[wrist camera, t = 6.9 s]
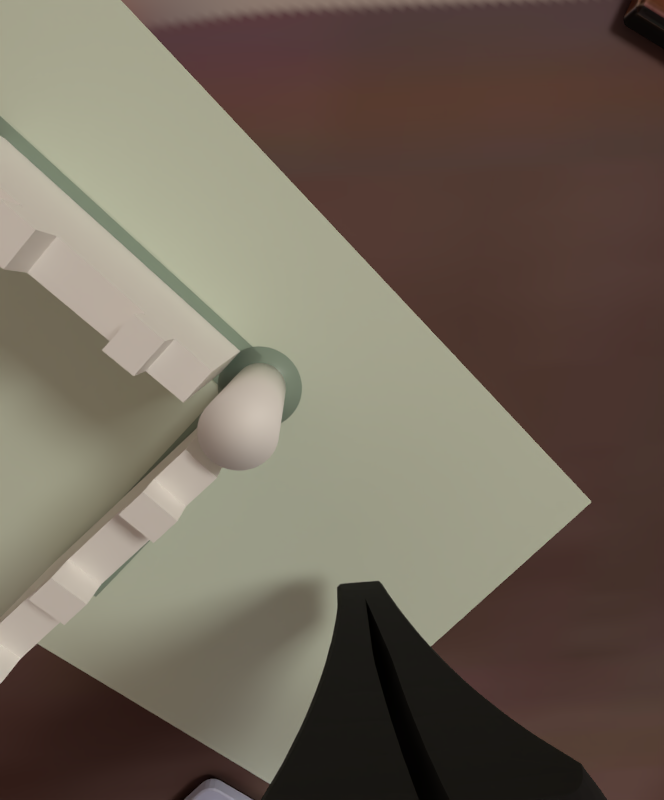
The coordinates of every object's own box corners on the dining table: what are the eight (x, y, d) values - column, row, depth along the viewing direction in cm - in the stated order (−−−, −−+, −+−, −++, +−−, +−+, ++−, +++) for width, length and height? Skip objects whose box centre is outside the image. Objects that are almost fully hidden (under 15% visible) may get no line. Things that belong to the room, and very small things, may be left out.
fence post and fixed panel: (262, 422, 12) (241, 486, 8) (-23, 176, 10) (-275, 70, 6) (296, 387, 12) (295, 431, 8) (14, 128, 10) (-215, -18, 6)
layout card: (274, 780, 16) (274, 787, 16) (-325, 417, 11) (-338, 419, 11) (587, 499, 14) (592, 502, 14) (41, -83, 9) (34, -93, 9)
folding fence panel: (221, 404, 12) (176, 460, 8) (242, 424, 12) (210, 490, 8) (48, 567, 13) (-86, 706, 8) (71, 584, 13) (-48, 728, 8)
